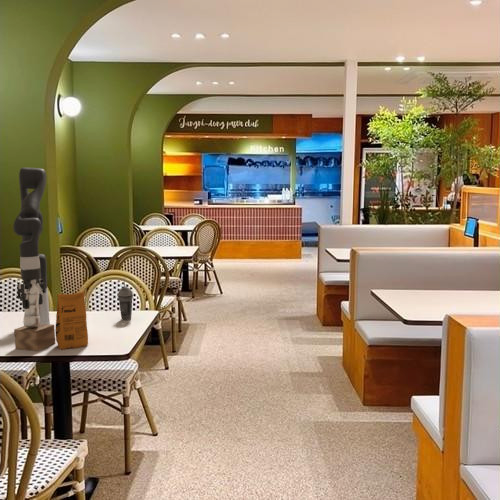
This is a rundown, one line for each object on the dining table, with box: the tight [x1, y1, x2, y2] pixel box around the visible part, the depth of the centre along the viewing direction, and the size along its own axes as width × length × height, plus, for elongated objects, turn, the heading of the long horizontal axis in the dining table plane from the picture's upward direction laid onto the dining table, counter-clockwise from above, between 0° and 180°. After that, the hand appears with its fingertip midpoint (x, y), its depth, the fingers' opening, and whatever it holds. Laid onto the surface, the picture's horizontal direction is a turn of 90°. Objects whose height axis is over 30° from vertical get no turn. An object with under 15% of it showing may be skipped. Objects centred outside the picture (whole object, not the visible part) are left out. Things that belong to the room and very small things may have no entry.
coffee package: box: [55, 291, 89, 350], centre depth 245 cm, size 10×12×22 cm
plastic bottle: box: [22, 279, 40, 328], centre depth 244 cm, size 6×7×20 cm
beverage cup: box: [117, 277, 134, 321], centre depth 289 cm, size 7×7×20 cm
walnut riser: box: [13, 323, 56, 352], centre depth 246 cm, size 11×11×8 cm
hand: (33, 306), depth 245 cm, fingers open, 8 cm apart
